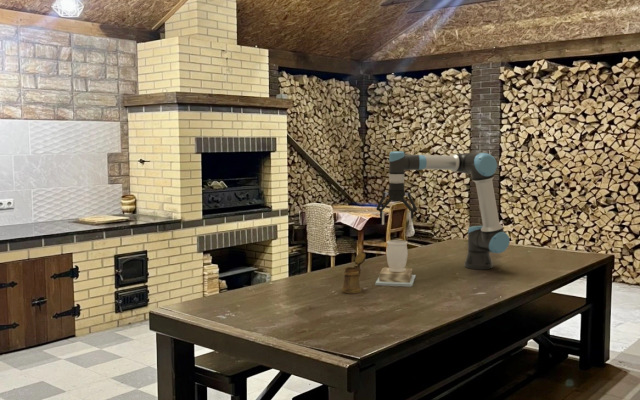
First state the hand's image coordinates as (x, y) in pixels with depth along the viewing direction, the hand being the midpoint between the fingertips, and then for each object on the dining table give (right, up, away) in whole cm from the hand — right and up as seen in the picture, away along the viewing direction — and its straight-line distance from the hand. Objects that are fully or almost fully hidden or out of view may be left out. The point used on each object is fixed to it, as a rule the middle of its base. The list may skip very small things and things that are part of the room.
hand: (396, 224), depth 335 cm
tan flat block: (0, -27, +2) cm, 27 cm away
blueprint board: (0, -29, +3) cm, 29 cm away
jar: (0, -24, +2) cm, 24 cm away
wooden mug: (-22, -31, -17) cm, 41 cm away
